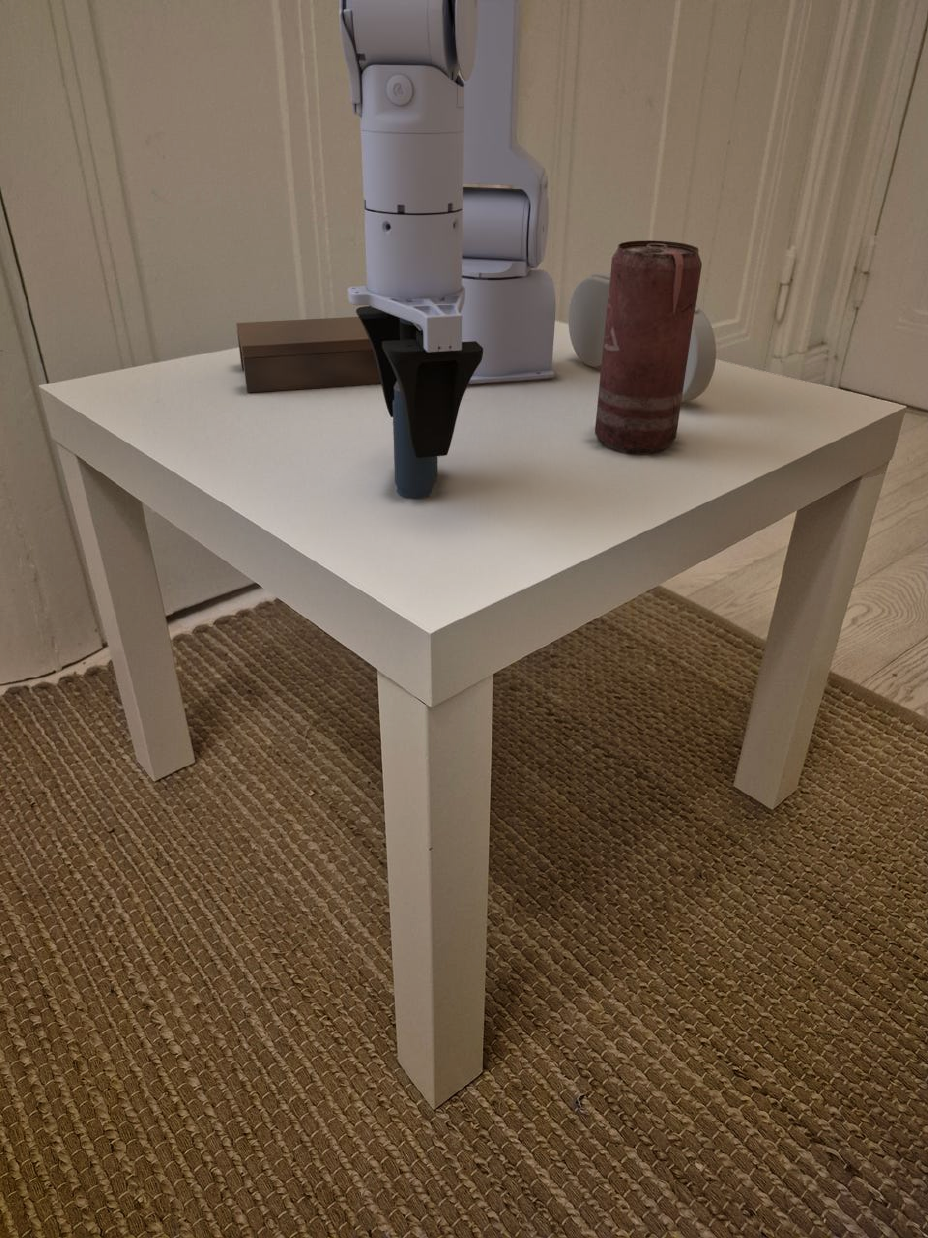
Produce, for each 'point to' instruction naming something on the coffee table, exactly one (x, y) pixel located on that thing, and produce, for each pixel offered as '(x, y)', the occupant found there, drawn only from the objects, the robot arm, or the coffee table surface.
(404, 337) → the vaping device
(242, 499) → the coffee table surface
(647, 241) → the can
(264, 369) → the brown wooden box
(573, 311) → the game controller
